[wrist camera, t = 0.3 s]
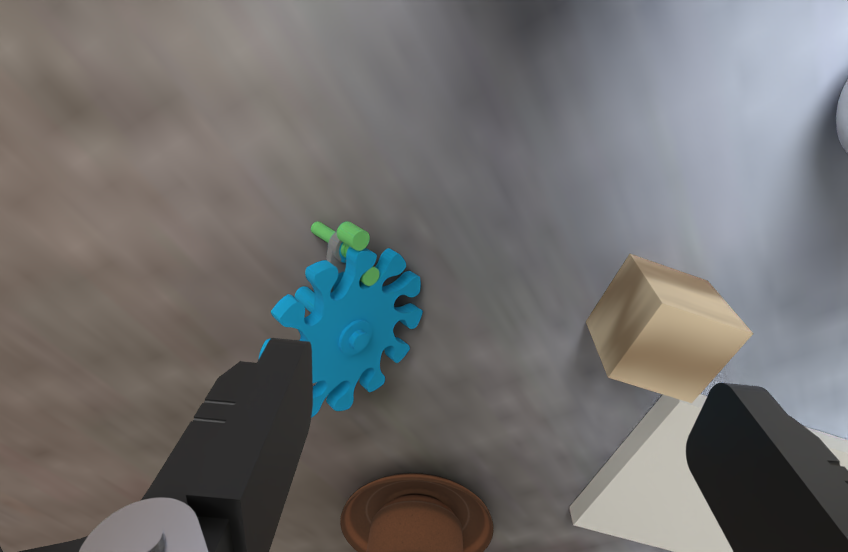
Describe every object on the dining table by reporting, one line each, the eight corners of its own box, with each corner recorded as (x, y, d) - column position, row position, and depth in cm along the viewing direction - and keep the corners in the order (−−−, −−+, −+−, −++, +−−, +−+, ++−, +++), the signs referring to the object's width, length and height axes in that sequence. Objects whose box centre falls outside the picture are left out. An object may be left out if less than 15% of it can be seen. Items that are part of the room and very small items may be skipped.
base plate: (670, 384, 32) (680, 401, 31) (849, 440, 34) (865, 458, 33) (569, 507, 39) (573, 525, 38) (721, 548, 41) (730, 566, 40)
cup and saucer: (476, 556, 43) (479, 636, 38) (341, 539, 43) (325, 617, 38) (506, 468, 37) (515, 549, 32) (349, 448, 37) (332, 526, 32)
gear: (413, 390, 31) (266, 452, 24) (357, 344, 35) (216, 387, 28) (449, 226, 27) (284, 245, 20) (381, 193, 30) (221, 200, 24)
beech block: (629, 253, 27) (662, 303, 23) (707, 280, 28) (753, 333, 24) (585, 320, 30) (608, 377, 26) (657, 344, 31) (691, 403, 26)
